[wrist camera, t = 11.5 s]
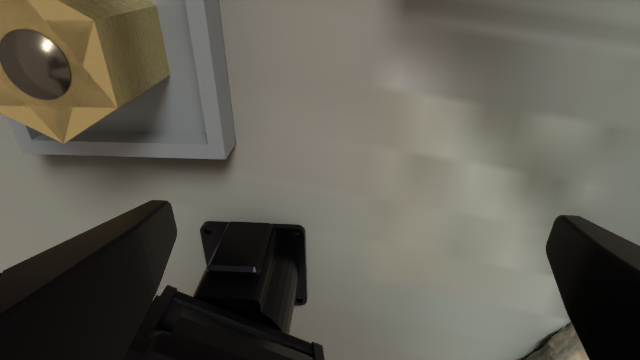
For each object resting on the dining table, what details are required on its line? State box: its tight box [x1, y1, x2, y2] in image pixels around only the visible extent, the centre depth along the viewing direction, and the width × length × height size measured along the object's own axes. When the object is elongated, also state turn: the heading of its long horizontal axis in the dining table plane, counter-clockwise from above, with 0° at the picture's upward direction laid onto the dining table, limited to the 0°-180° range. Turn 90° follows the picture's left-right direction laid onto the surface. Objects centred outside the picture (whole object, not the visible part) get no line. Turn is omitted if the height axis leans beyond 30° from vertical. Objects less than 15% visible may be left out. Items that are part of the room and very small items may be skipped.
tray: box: [7, 0, 236, 159], centre depth 19 cm, size 11×11×2 cm
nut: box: [0, 0, 170, 144], centre depth 17 cm, size 6×6×5 cm
